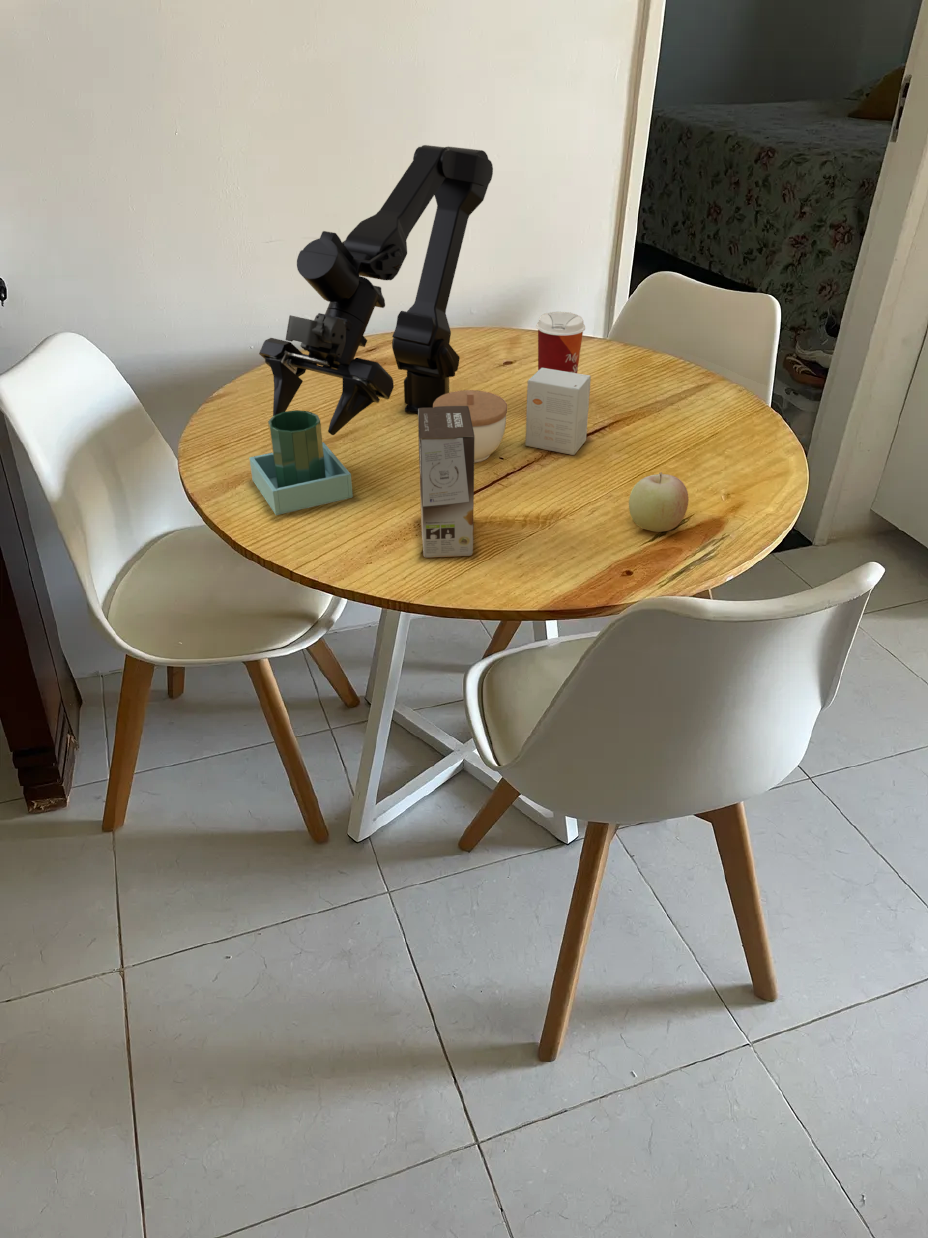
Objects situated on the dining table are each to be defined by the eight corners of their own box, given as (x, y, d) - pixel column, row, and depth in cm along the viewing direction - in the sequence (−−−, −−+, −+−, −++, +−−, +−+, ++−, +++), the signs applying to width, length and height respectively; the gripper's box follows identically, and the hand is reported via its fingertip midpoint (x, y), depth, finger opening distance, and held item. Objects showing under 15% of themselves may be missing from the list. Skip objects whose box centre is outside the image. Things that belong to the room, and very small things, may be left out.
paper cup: (576, 414, 147) (583, 328, 139) (528, 410, 149) (533, 324, 140) (581, 395, 154) (588, 311, 145) (535, 391, 155) (540, 308, 146)
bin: (325, 467, 133) (323, 441, 130) (353, 500, 125) (351, 473, 123) (252, 483, 129) (249, 457, 126) (276, 518, 121) (272, 491, 119)
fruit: (665, 547, 116) (674, 491, 111) (616, 527, 120) (622, 472, 115) (695, 523, 120) (705, 469, 116) (647, 505, 124) (654, 451, 119)
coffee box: (474, 556, 114) (476, 437, 104) (423, 558, 113) (419, 439, 104) (468, 519, 121) (469, 404, 111) (419, 520, 121) (416, 405, 111)
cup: (332, 479, 129) (326, 412, 123) (316, 502, 123) (309, 433, 117) (287, 474, 130) (279, 408, 124) (270, 497, 124) (260, 428, 118)
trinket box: (418, 455, 136) (417, 395, 130) (465, 431, 142) (465, 373, 137) (474, 477, 130) (475, 415, 125) (520, 451, 137) (523, 391, 131)
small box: (586, 441, 140) (592, 374, 133) (574, 456, 136) (580, 388, 129) (537, 431, 142) (541, 365, 136) (523, 446, 138) (527, 379, 132)
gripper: (259, 276, 120) (213, 385, 119) (377, 299, 113) (330, 416, 111) (302, 319, 130) (261, 420, 129) (413, 343, 123) (370, 450, 122)
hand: (302, 425), depth 122 cm, fingers open, 9 cm apart
